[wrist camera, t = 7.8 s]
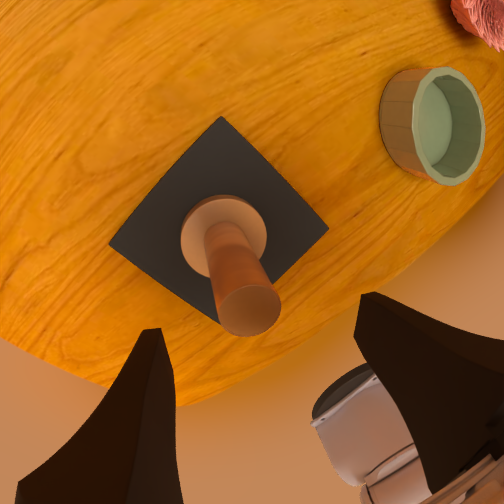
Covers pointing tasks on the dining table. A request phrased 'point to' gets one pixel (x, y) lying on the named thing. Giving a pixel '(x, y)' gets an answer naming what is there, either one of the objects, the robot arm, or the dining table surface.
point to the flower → (482, 19)
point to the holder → (433, 124)
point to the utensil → (232, 262)
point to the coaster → (206, 185)
